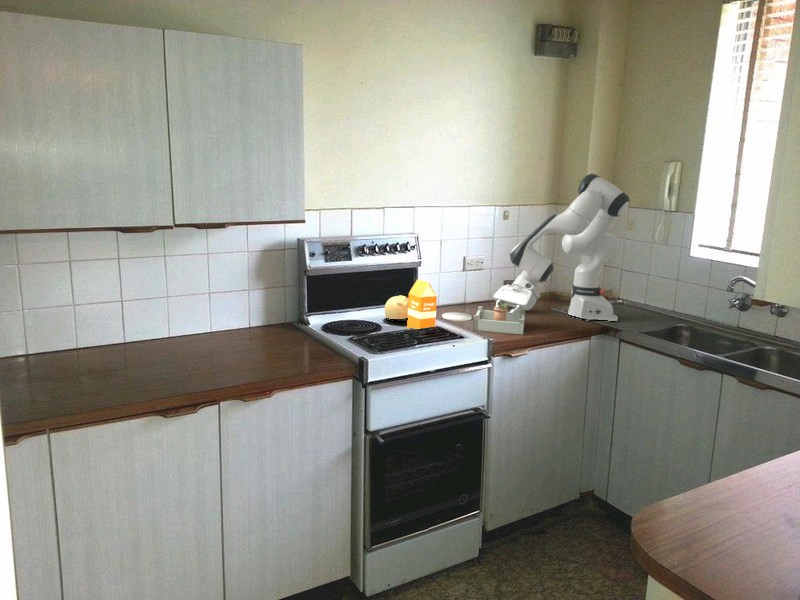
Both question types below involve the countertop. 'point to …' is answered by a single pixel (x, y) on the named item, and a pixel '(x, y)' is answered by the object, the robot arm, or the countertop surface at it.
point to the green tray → (499, 322)
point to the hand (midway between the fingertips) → (503, 312)
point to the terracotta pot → (500, 313)
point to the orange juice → (421, 306)
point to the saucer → (456, 316)
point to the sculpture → (397, 307)
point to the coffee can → (508, 305)
